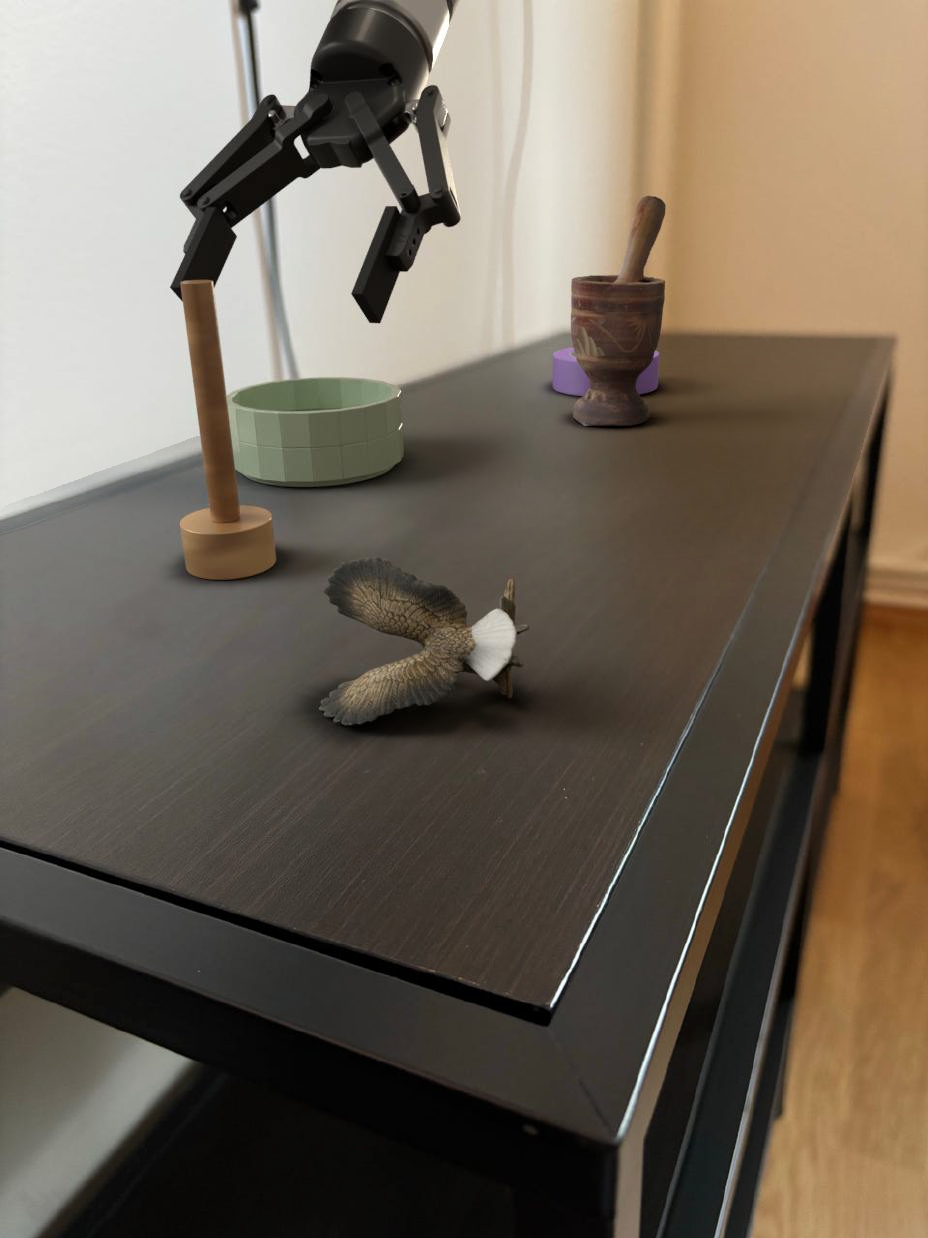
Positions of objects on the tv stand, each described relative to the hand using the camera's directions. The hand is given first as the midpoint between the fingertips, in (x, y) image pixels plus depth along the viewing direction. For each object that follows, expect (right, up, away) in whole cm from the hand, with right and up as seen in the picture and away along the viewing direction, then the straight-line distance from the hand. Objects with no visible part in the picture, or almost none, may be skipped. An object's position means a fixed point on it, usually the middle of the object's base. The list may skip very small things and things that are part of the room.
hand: (271, 305), depth 62 cm
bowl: (0, -7, +22) cm, 23 cm away
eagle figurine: (+10, -23, -16) cm, 30 cm away
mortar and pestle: (+27, 0, +36) cm, 45 cm away
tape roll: (+28, +6, +49) cm, 57 cm away
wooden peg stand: (-3, -16, +1) cm, 16 cm away
